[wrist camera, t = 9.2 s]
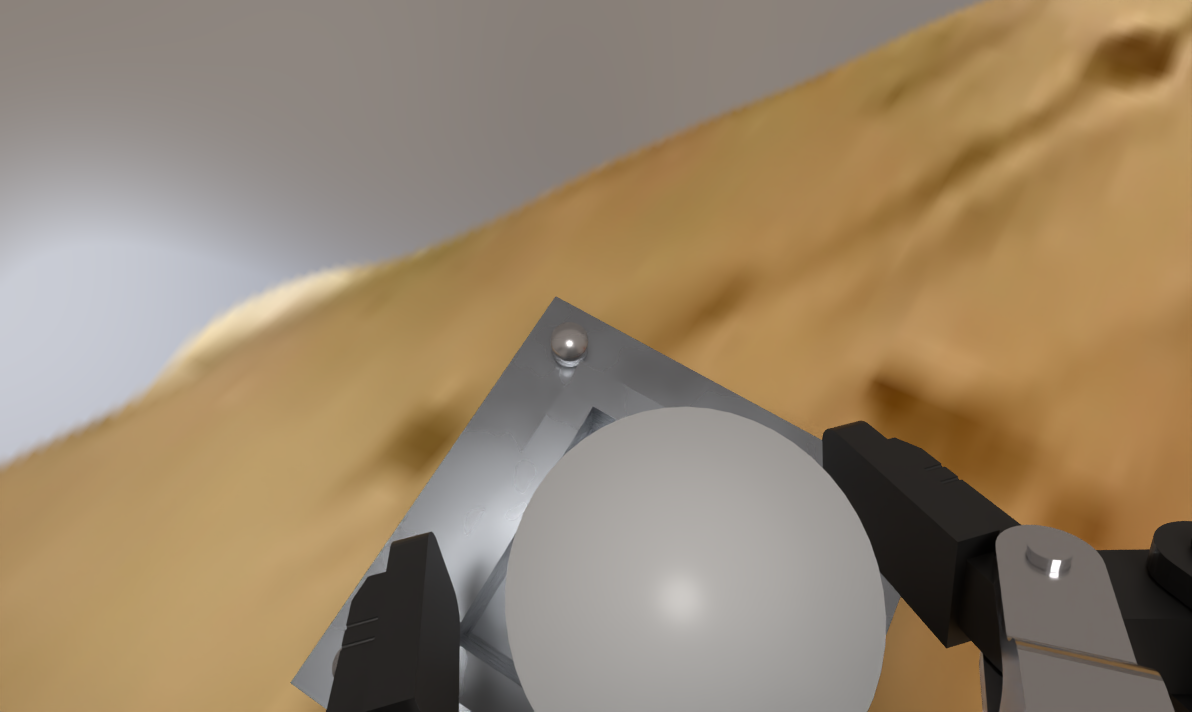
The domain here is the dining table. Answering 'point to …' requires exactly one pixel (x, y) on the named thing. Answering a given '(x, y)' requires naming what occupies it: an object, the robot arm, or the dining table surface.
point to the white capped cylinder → (693, 575)
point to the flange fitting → (532, 480)
